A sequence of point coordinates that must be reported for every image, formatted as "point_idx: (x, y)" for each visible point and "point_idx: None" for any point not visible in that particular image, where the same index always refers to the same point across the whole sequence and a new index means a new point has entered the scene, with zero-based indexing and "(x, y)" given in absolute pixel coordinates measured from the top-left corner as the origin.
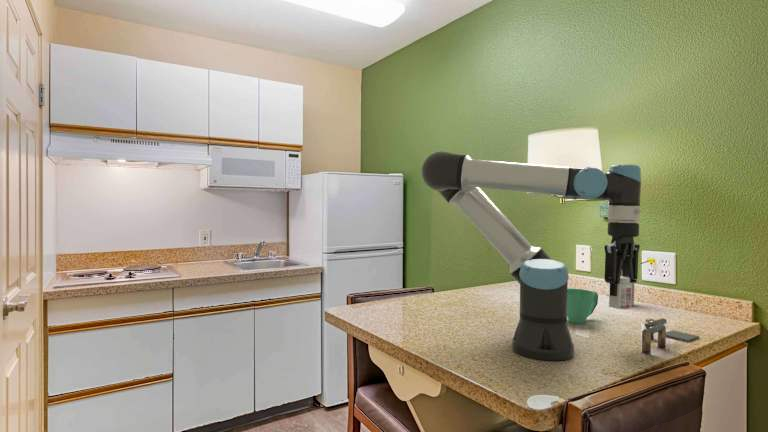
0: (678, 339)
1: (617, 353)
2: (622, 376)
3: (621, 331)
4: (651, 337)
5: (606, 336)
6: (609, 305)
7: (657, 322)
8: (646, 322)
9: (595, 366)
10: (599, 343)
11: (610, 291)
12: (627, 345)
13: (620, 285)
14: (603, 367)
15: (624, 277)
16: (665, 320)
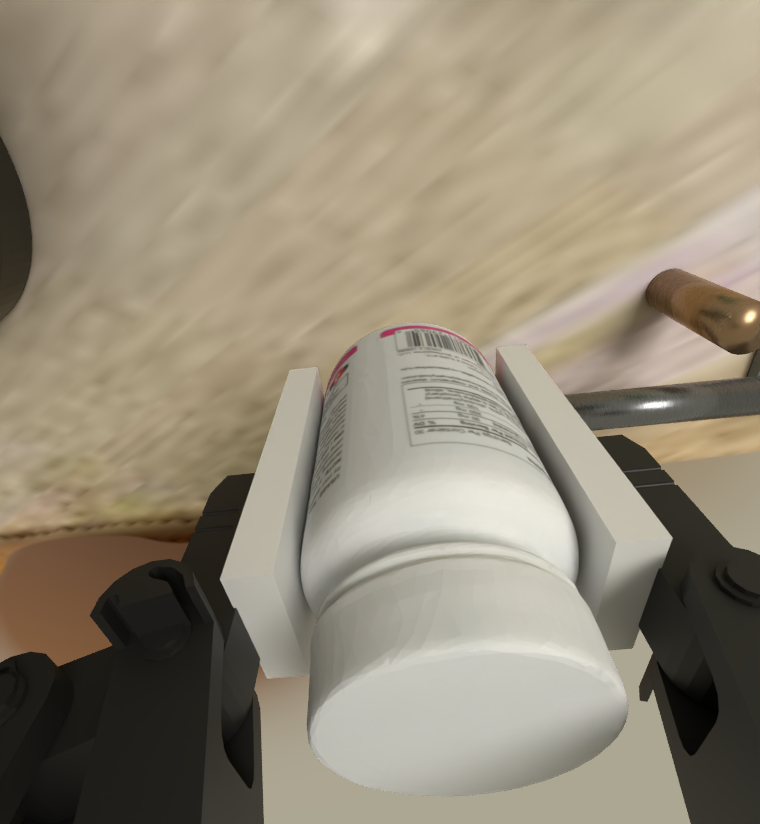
0: (751, 372)
1: (262, 373)
2: (86, 518)
3: (717, 82)
4: (658, 309)
5: (488, 127)
6: (287, 381)
7: (643, 425)
8: (714, 312)
9: (42, 433)
10: (307, 221)
11: (203, 524)
12: (423, 317)
13: (290, 662)
14: (70, 451)
15: (485, 760)
16: (750, 415)
